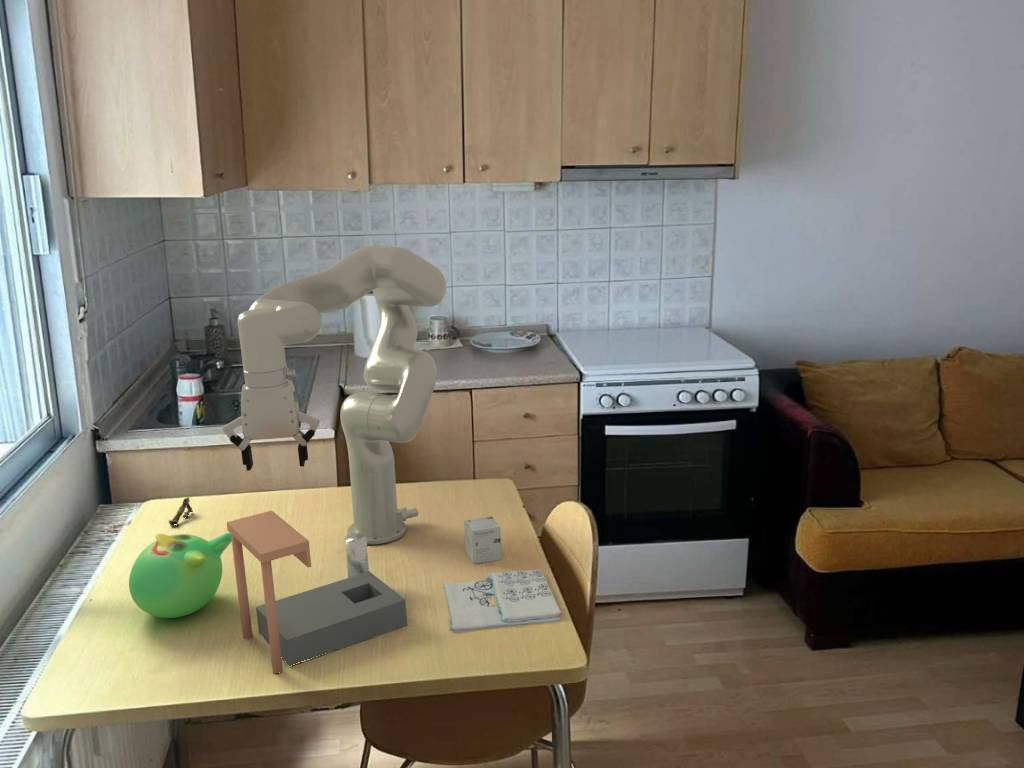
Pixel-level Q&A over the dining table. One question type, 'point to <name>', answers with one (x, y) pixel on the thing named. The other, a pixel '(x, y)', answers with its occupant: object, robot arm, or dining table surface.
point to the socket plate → (334, 616)
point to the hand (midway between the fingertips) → (276, 466)
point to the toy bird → (177, 574)
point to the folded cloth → (501, 601)
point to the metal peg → (356, 554)
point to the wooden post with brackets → (181, 512)
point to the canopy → (265, 566)
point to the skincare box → (482, 539)
